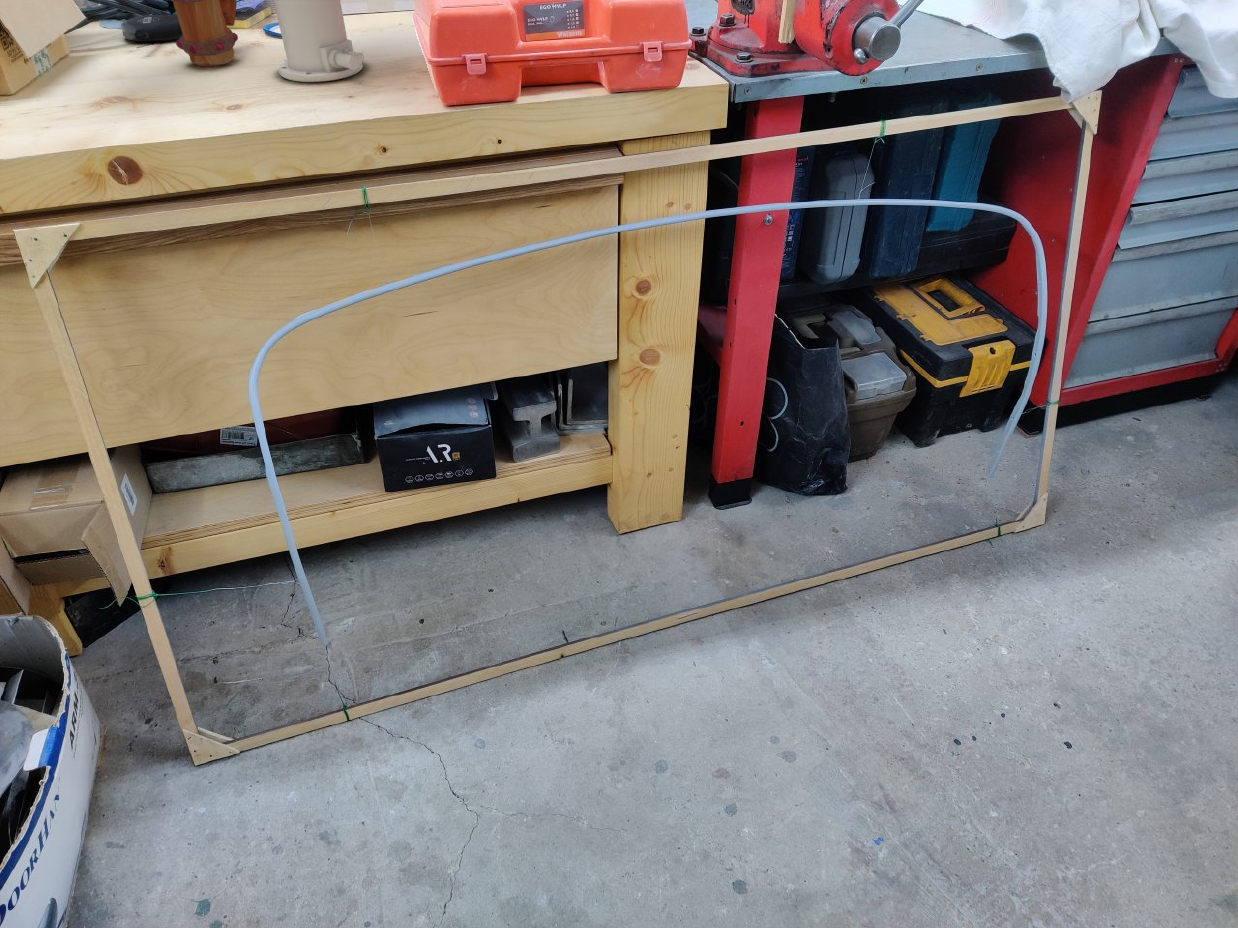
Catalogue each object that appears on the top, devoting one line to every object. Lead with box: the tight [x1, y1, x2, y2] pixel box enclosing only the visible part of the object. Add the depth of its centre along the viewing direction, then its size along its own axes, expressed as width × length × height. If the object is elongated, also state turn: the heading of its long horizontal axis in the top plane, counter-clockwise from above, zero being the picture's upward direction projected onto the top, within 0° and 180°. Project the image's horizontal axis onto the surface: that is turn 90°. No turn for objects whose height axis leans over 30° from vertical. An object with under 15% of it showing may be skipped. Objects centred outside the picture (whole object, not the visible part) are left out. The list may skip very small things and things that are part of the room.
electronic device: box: [120, 14, 183, 42], centre depth 152 cm, size 9×6×15 cm
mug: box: [170, 0, 239, 67], centre depth 138 cm, size 15×8×15 cm, turn 168°
